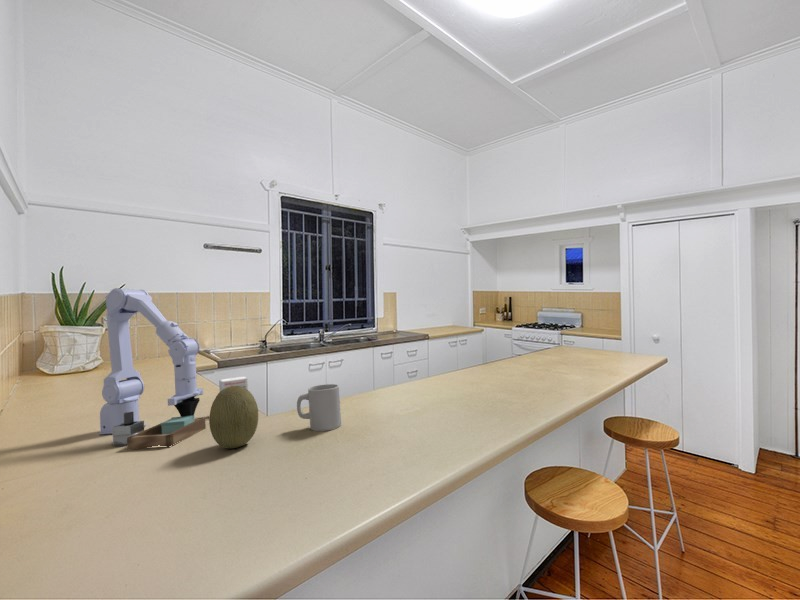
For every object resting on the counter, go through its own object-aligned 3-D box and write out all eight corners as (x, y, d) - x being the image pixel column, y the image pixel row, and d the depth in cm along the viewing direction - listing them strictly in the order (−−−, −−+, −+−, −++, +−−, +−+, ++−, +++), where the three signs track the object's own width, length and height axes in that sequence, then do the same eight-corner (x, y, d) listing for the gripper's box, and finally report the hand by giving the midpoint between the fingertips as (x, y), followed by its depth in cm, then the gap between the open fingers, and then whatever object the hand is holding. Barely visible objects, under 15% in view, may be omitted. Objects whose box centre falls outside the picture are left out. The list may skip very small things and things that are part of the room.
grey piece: (106, 447, 99) (105, 428, 99) (126, 438, 106) (126, 420, 106) (131, 445, 99) (131, 426, 99) (150, 437, 106) (149, 419, 106)
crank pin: (122, 434, 102) (121, 413, 102) (128, 431, 104) (128, 411, 104) (129, 433, 101) (128, 413, 102) (136, 431, 104) (135, 411, 104)
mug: (343, 421, 108) (340, 383, 108) (339, 430, 99) (336, 388, 100) (302, 424, 108) (299, 386, 108) (294, 433, 99) (291, 392, 100)
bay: (127, 449, 96) (127, 437, 96) (168, 430, 112) (168, 420, 112) (170, 447, 95) (170, 435, 95) (205, 428, 111) (205, 417, 111)
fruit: (212, 444, 95) (209, 385, 96) (259, 435, 100) (255, 379, 100) (208, 458, 85) (205, 392, 85) (261, 448, 89) (257, 385, 90)
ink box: (222, 416, 124) (220, 381, 125) (220, 413, 128) (218, 379, 129) (249, 411, 129) (247, 377, 130) (246, 408, 133) (244, 375, 134)
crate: (161, 438, 104) (160, 423, 104) (173, 431, 110) (172, 417, 110) (184, 435, 104) (183, 421, 105) (194, 429, 111) (194, 415, 111)
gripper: (183, 382, 105) (186, 430, 105) (211, 373, 120) (213, 416, 119) (159, 383, 105) (161, 432, 105) (190, 375, 120) (192, 417, 119)
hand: (187, 423), depth 112 cm, fingers closed
